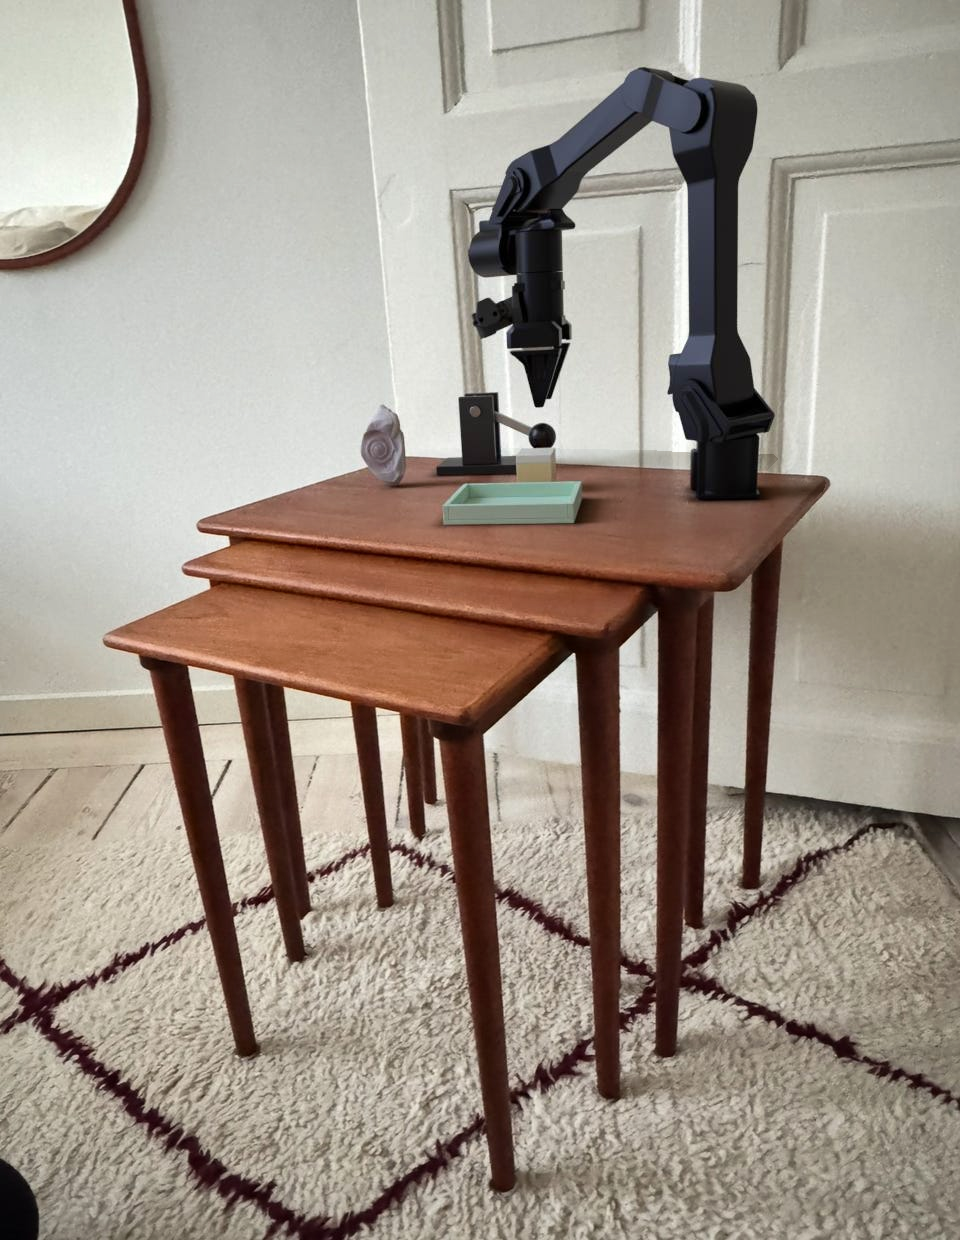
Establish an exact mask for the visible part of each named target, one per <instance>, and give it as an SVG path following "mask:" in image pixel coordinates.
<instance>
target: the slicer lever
mask: <svg viewBox="0 0 960 1240" xmlns="http://www.w3.org/2000/svg"><path fill="white" fill-rule="evenodd" d="M474 396H476V395H474ZM494 420H495V421H496V422H499V423H500V425H503V426H506V427H507V428H510V429H512V430H515V431H516V432H519V433H521V434H523V435H526V436H527V437H528V438H527V439H528V442H529V445H530V446H531V447H532V448H553V447H554V445H555V443H556V441H557V433H556V430H555V428H554V427H553V426H552V425H551V424H548V423H546V422H539V423H536V424H534V425H533V426H529V425H527V424H525V423H524V422H521V421H518V420H517V419H514V418H512V417H509V416H507V415H505V414H504V413H501V412H500V411H499V412H496V411H494Z"/></svg>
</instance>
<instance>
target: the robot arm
mask: <svg viewBox="0 0 960 1240" xmlns="http://www.w3.org/2000/svg"><path fill="white" fill-rule="evenodd" d="M758 110H759V109H758V101H757V98H756V96H755V94H754V93H752V92H751V91H750V89H749V88H747V86H745V85H743V84H740V83H735V82H729V81H724V80H717V79H713V78H712V79H711V78H705V77H696V78H692V79H690V80H688V79H685V78H682V77H680V76H677V75H674V74H673V73H672V72H670V71H668V70H665V69H658V68H653V67H652V68H651V67H648V66H641V67H637V68H636V69H633V70H632V71H630V72H629V73H628V74H627V76H626V77H624V81H623V83H621V84H620V85H619V86H618V87H617V88H615V90H613V91H612V92H611V93H610V94H609V95H607V96H606V97H605V98H604V99H603V100H602V101H601V102H599V103H598V104H597V105H596V106H595V107H594V108H592V110H590V112H588V113H587V114H586V115H585V116H584V117H582V118H581V119H580V120H579V121H578V122H577V123H576V124H574V125H573V126H572V127H571V128H570V129H569V130H567V132H565V133H564V134H563V135H562V136H561V137H559V139H557V140H556V141H553V142H552V143H549V144H547V145H544V146H541V147H538V148H534V149H532V150H529V151H527V152H525V153H524V154H522V155H521V156H519V157H516V158H515V159H514V160H512V161H511V162H510V164H509V165H508V166H507V168H506V169H505V176H504V179H503V181H502V184H501V187H500V189H499V191H498V195H497V197H496V200H495V203H494V205H493V206H492V208H491V214H490V216H489V218H488V220H487V219H485V220H479V222H478V225H479V226H478V229H479V231H478V232H476V233H475V234H474V235H473V236H472V238H471V241H470V243H469V247H468V249H467V257H468V262H469V265H470V267H471V269H472V270H473V272H474V273H475V274H476V275H477V276H479V277H481V278H498V277H510V276H516V278H515V279H516V282H514V283H513V285H511V296H510V297H507V298H505V299H503V300H500V301H498V302H495V301H494V300H493V299H492V298H491V297H485V298H483V299H481V300H479V301H477V302H476V307H475V308H476V310H475V312H473V313H472V314H471V319H472V326H473V327H475V329H476V331H477V333H478V336H479V338H480V340H483V339H486V338H487V339H488V338H489V337H491V336H494V335H496V333H498V331H499V332H500V330H503V329H505V328H507V327H509V328H508V329H507V331H506V333H505V334H506V349H508V350H509V349H510V351H509V353H510V355H511V356H513V357H514V358H515V359H516V360H518V362H519V363H521V364H522V365H523V368H524V371H525V376H526V380H527V383H528V387H529V390H530V394H531V397H532V402H533V406H534V408H539V409H541V408H543V407H544V406H545V404H546V401H547V400H551V399H552V397H553V395H554V392H555V389H556V386H557V383H558V380H559V377H560V374H561V372H562V369H563V365H564V363H565V360H566V357H567V355H568V351H569V349H570V346H571V342H563V340H565V341H572V339H573V335H572V332H573V331H572V330H573V329H572V328H573V327H572V323H571V322H570V321H568V320H567V319H566V315H565V313H564V311H565V309H564V305H565V304H564V290H566V282H565V280H564V272H563V271H564V265H563V264H564V263H563V261H564V259H563V257H564V256H563V231H570V230H574V229H576V223H575V221H573V220H572V219H571V218H570V217H569V216H568V215H567V214H566V213H565V211H564V208H565V207H566V206H567V204H568V203H570V201H571V200H572V199H573V197H575V195H576V194H577V193H578V192H579V190H580V186H581V183H582V180H583V178H584V177H585V176H586V175H587V174H588V173H589V172H590V171H592V170H593V169H594V168H595V167H596V166H598V165H599V164H600V163H601V162H602V161H604V160H605V159H607V158H608V157H609V156H610V155H611V154H613V153H615V151H617V150H618V149H619V148H621V147H622V146H623V145H624V144H626V143H627V142H628V141H629V140H630V139H632V138H633V137H634V136H636V135H637V134H638V133H639V132H640V131H642V130H643V129H644V128H645V127H646V126H648V125H650V124H651V123H652V122H654V123H656V124H659V125H661V126H664V127H666V128H668V131H669V138H670V145H671V151H672V156H673V159H674V161H675V163H676V165H677V167H678V170H679V172H680V173H681V175H682V178H683V179H684V182H685V184H686V189H687V262H688V263H687V264H688V265H687V268H688V269H687V271H688V272H687V273H688V274H687V275H688V276H687V277H688V279H687V280H688V284H687V285H688V286H687V287H688V336H687V339H686V341H685V344H684V346H683V348H682V351H681V352H680V353H679V352H678V353H671V354H669V356H668V361H667V365H668V366H667V367H668V372H669V384H668V388H667V392H666V394H667V395H669V396H670V395H671V398H672V405H673V408H674V411H675V412H676V413H678V416H679V420H680V423H681V427H682V431H683V435H684V437H685V438H684V439H685V440H686V441H694V442H696V446H695V447H696V448H691V450H690V467H689V487H690V488H689V489H690V491H692V492H694V496H695V499H697V500H713V499H714V500H717V499H719V500H720V499H721V500H722V499H723V500H725V499H759V498H760V495H761V494H760V491H759V490H758V479H759V475H758V474H759V457H760V435H758V434H765V433H769V432H770V430H771V428H772V425H773V422H774V420H775V416H776V414H775V411H773V409H772V408H771V407H770V406H769V404H768V403H767V402H766V400H765V399H764V398H763V397H762V396H761V394H760V393H759V392H758V390H757V389H756V388H755V383H754V376H753V370H752V369H753V368H752V361H751V357H750V355H749V353H748V351H747V349H746V346H745V345H744V343H743V340H742V338H741V336H740V334H739V330H738V298H739V297H738V296H739V295H738V293H739V292H738V287H739V286H738V283H739V282H738V281H739V280H738V279H739V278H738V277H739V276H738V274H739V272H738V271H739V269H738V268H739V184H740V177H741V176H742V174H743V171H744V169H745V167H746V165H747V162H748V161H749V158H750V155H751V154H752V151H753V148H754V141H755V135H756V134H755V133H756V128H757V127H756V126H757V122H758V121H757V119H758Z"/></svg>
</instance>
